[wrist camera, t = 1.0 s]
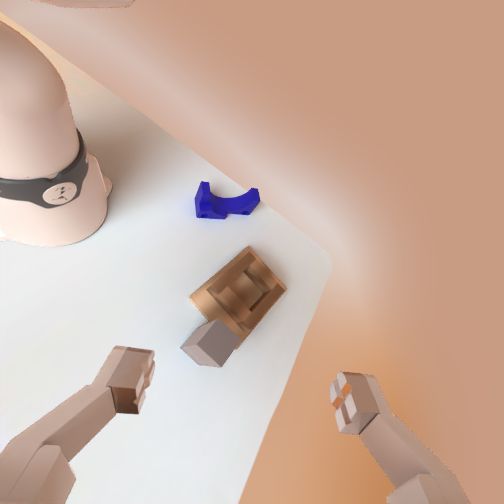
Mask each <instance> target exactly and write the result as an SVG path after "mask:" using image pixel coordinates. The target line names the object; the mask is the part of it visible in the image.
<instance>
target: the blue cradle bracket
mask: <svg viewBox="0 0 504 504" xmlns="http://www.w3.org/2000/svg"><path fill="white" fill-rule="evenodd" d="M259 202H260V197H259V192H258V189H255V188H251V189H250V190H249V191H248V192H247V193H245V194H243V195H241V196H238V197H234V198H221V197H218V196H215V195H213V194H212V193H211V192H210V186H209V182H203V181H201V183H200V186H199V189H198V191H197V194H196V197H195V206H196V216H197V218H210V219H225V218H226V217H227V214H241V215H250V213H251V212H252V211H253V210H254V208H255V207H256V206H257V205H258V203H259ZM226 213H227V214H226Z"/></svg>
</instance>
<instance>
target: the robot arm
mask: <svg viewBox="0 0 504 504" xmlns="http://www.w3.org/2000/svg"><path fill="white" fill-rule="evenodd" d="M33 1H37V2H42V3H46V4H51V5H55V6H59V7H70V8H119V7H129V6H130V5H131V4H132V3H133V2H134V1H135V0H33ZM111 190H112V183H111V180H110V179H109V178H107V177H106V176H105V175H104V174H102V173H101V170H100V167H99V164H98V161H97V159H96V157H95V156H92V155H91V154H90V153H88V152H87V149H86V146H85V143H84V141H83V139H82V136H81V134H80V132H79V131H78V129H77V128H76V127H75V123H74V119H73V115H72V111H71V107H70V103H69V99H68V95H67V91H66V87H65V84H64V82H63V80H62V78H61V76H60V74H59V73H58V71H57V70H56V68H55V67H54V66H53V64H52V63H51V62H50V61H49V60H48V59H47V58H46V57H45V55H44V54H43V53H42V52H41V51H40V50H39V49H38V48H37V47H35V46H34V45H33V44H32V43H31V42H30V41H29V40H28V39H27V38H25V37H24V36H23V35H22V34H20V33H19V32H18V31H16V30H15V29H13V28H12V27H10V26H8V25H7V24H5V23H4V22H2V21H0V241H16V242H20V243H24V244H28V245H32V246H38V247H59V246H65V245H70V244H73V243H76V242H79V241H81V240H83V239H85V238H87V237H89V236H90V235H92V234H93V233H94V232H95V231H96V230H97V229H98V228H99V227H100V226H101V224H102V223H103V221H104V219H105V217H106V213H107V197H108V195H109V194H110V192H111ZM153 358H154V350H147V349H139V348H131V347H124V346H115V347H114V348H113V349H112V351H111V352H110V354H109V356H108V357H107V359H106V361H105V362H104V364H103V366H102V368H101V369H100V371H99V373H98V374H97V376H96V378H95V379H94V381H93V383H92V384H91V385H86V386H85V387H83V388H82V389H81V390H79V391H78V392H77V393H75V394H74V395H72V396H71V397H70V398H68V399H67V400H66V401H64V402H63V403H61V404H60V405H59V406H57V407H56V408H55V409H53V410H52V411H50V412H49V413H48V414H46V415H45V416H43V417H42V418H41V419H39V420H38V421H37V422H35V423H34V424H32V425H31V426H30V427H28V428H27V429H26V430H24V431H23V432H21V433H20V434H19V435H17V436H16V437H15V438H13V439H12V440H11V441H10V442H9V443H8V445H7V446H6V447H5V449H4V450H3V451H2V453H1V454H0V504H65V502H66V500H67V498H68V496H69V494H70V491H71V489H72V487H73V485H74V483H75V481H76V477H75V474H74V472H73V470H72V468H71V466H70V464H69V463H68V462H69V461H70V460H71V459H72V458H73V457H74V456H75V455H76V454H77V453H78V452H79V451H80V450H81V449H82V448H83V447H84V446H85V445H86V444H87V443H88V442H89V441H90V440H91V439H92V438H93V437H94V436H95V435H96V434H97V433H98V432H99V431H100V430H101V429H102V428H103V427H104V426H105V425H106V424H107V423H108V422H109V421H110V420H111V419H112V418H113V417H114V416H115V415H116V413H124V414H139V413H140V410H141V407H142V405H143V402H144V399H145V397H146V396H145V389H146V388H147V387H149V386H150V383H151V381H152V378H153V374H154V369H155V362H154V361H153ZM330 399H331V402H332V405H333V406H334V407H335V408H336V409H337V411H336V414H335V417H336V421H337V424H338V428H339V432H340V433H347V434H355V435H359V437H360V439H361V440H362V442H363V443H364V444H365V446H366V447H367V449H368V450H369V452H370V453H371V455H372V456H373V457H374V459H375V460H376V462H377V463H378V464H379V466H380V467H381V469H382V470H383V472H384V473H385V474H386V476H387V477H388V478H389V480H390V481H391V483H392V484H393V486H394V487H395V488H396V490H395V491H393V492H392V493H390V494H389V495H388V496H387V498H386V500H387V503H388V504H471V503H470V501H469V499H468V497H467V496H466V494H465V492H464V490H463V488H462V487H461V485H460V483H459V481H458V479H457V478H456V476H455V475H454V474H453V473H452V472H451V470H450V469H448V467H447V466H446V465H444V463H442V461H441V460H440V459H439V458H438V457H437V456H436V455H435V454H434V453H433V452H432V451H431V450H430V449H429V448H428V447H427V446H426V445H425V444H424V443H423V442H422V441H421V440H420V439H419V438H418V437H417V436H416V435H415V434H414V433H413V432H412V431H411V430H410V429H409V428H408V427H407V426H406V425H405V424H404V423H403V422H402V421H401V420H400V419H399V418H398V417H397V416H394V415H393V414H392V411H391V409H390V407H389V405H388V403H387V401H386V399H385V396H384V394H383V392H382V390H381V388H380V386H379V384H378V382H377V379H376V378H375V377H374V376H373V375H367V374H360V373H350V372H339V373H338V374H337V380H335V381H333V382H332V384H331V386H330Z"/></svg>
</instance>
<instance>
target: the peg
mask: <svg viewBox="0 0 504 504" xmlns="http://www.w3.org/2000/svg"><path fill="white" fill-rule="evenodd" d="M240 341H241V339H240V338H239V337H238V336H237V335H236V334H235V333H234V332H233V331H232V330H230V329H229V328H228V327H227V326H226V325H225V324H224V323H223V322H222V321H221V320H220V319H219V318H218V319H216V320H213V321H211V322H209V323H207V324H205V325H203V326H201V327H198V328H197V329H196V330H195V331H194V333H193V334H192V335H191V336H190V337H189V338H188V340H187V341H186V342H185V343H184V344H183V345H182V347H181V349H182V350H183V351H184V352H185V353H186V354H187V355H188V356H190V357H191V358H192V359H193V360H194V361H195V362H196V363H197V364H198V365H205V366H213V367H222V366H223V364H224V363H225V362H226V360H227V359H228V357H229V356H230V355H231V353H232V352H233V350H234V349H235V348H236V346H237V345H238V343H239V342H240Z"/></svg>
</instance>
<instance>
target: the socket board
mask: <svg viewBox="0 0 504 504" xmlns="http://www.w3.org/2000/svg"><path fill="white" fill-rule="evenodd" d="M286 289H287V288H286V287H285V286H284V285H283V284H282V283H281V282H280V280H279V279H278V278H277V277H276V276H275V275H274V274H273V273H272V272H271V270H270V269H269V268H268V267H267V266H266V265H265V264H264V263H263V262H262V260H261V259H260V258H259V257H258V256H257V255H256V254H255V253H254V252H253V250H252V249H251V248H250V247H249V246H248V247H246V248H245V249H244V250H243V251H242V252H241V253H239V254H238V255H237V256H236V257H235V258H234V259H233V260H231V261H230V262H229V263H228V264H227V265H226V266H224V267H223V268H222V269H221V270H220V271H219V272H218V273H216V274H215V275H214V276H213V277H212V278H211V279H209V280H208V281H207V282H206V283H205V284H204V285H202V286H201V287H200V288H199V289H198V290H197V291H196V292H194V293H193V294H192V295H191V296H190V297H189V299H190V301H191V302H192V303H193V304H194V305H195V306H196V307H197V308H198V309H199V311H200V312H201V313H202V314H203V315H204V316H205V317H206V318H207V319H208V321H209V322H211V321H213V320H216V319H218V318H219V319H220V320H221V321H222V322H223V323H224V324H225V325H226V326H227V327H228V328H229V329H230V330H232V331H233V332H234V333H235V334H236V335H237V336H238V337H239V338H240V339H241V341H240V342H239V343H238V345H237V346H236V348H235V349H237V348H238V347H239V346H240V345H241V343H242V342H243V341H244V340H245V339H246V337H247V336H248V335H249V334H250V333H251V331H252V330H253V329H254V328H255V327H256V325H257V324H258V323H259V322H260V321H261V319H262V318H263V317H264V316H265V315H266V313H267V312H268V311H269V310H270V309H271V307H272V306H273V305H274V304H275V303H276V301H277V300H278V299H279V298H280V297H281V295H282V294H283V293H284V292H285V291H286Z"/></svg>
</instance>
